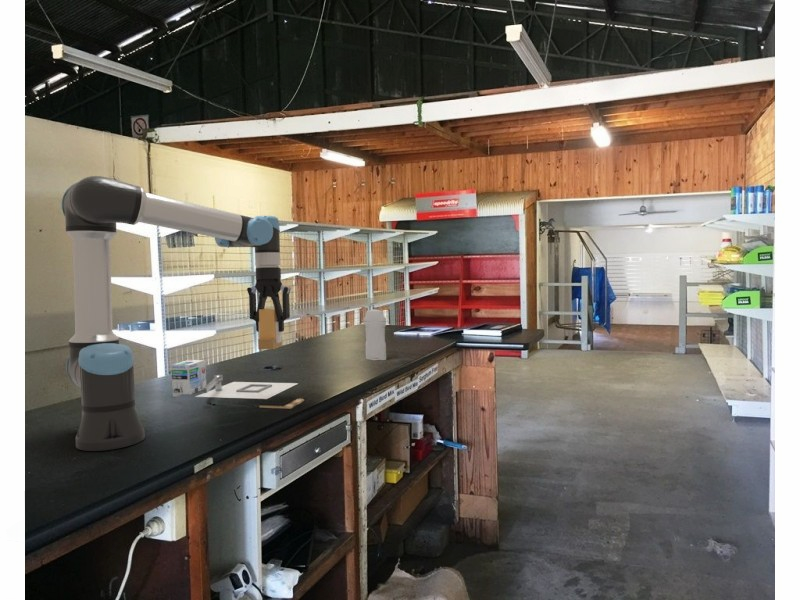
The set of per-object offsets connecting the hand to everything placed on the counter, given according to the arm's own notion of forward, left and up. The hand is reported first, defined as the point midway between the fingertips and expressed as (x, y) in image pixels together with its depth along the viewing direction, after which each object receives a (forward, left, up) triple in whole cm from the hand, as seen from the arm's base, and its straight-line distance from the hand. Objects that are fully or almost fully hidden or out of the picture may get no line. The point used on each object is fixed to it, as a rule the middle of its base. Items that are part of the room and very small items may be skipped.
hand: (270, 342), depth 186 cm
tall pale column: (+80, -10, -19) cm, 83 cm away
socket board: (+10, +13, -18) cm, 25 cm away
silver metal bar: (-1, +20, -14) cm, 24 cm away
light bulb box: (+6, +33, -19) cm, 38 cm away
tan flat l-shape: (-4, -5, -18) cm, 19 cm away
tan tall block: (0, 0, -2) cm, 2 cm away
